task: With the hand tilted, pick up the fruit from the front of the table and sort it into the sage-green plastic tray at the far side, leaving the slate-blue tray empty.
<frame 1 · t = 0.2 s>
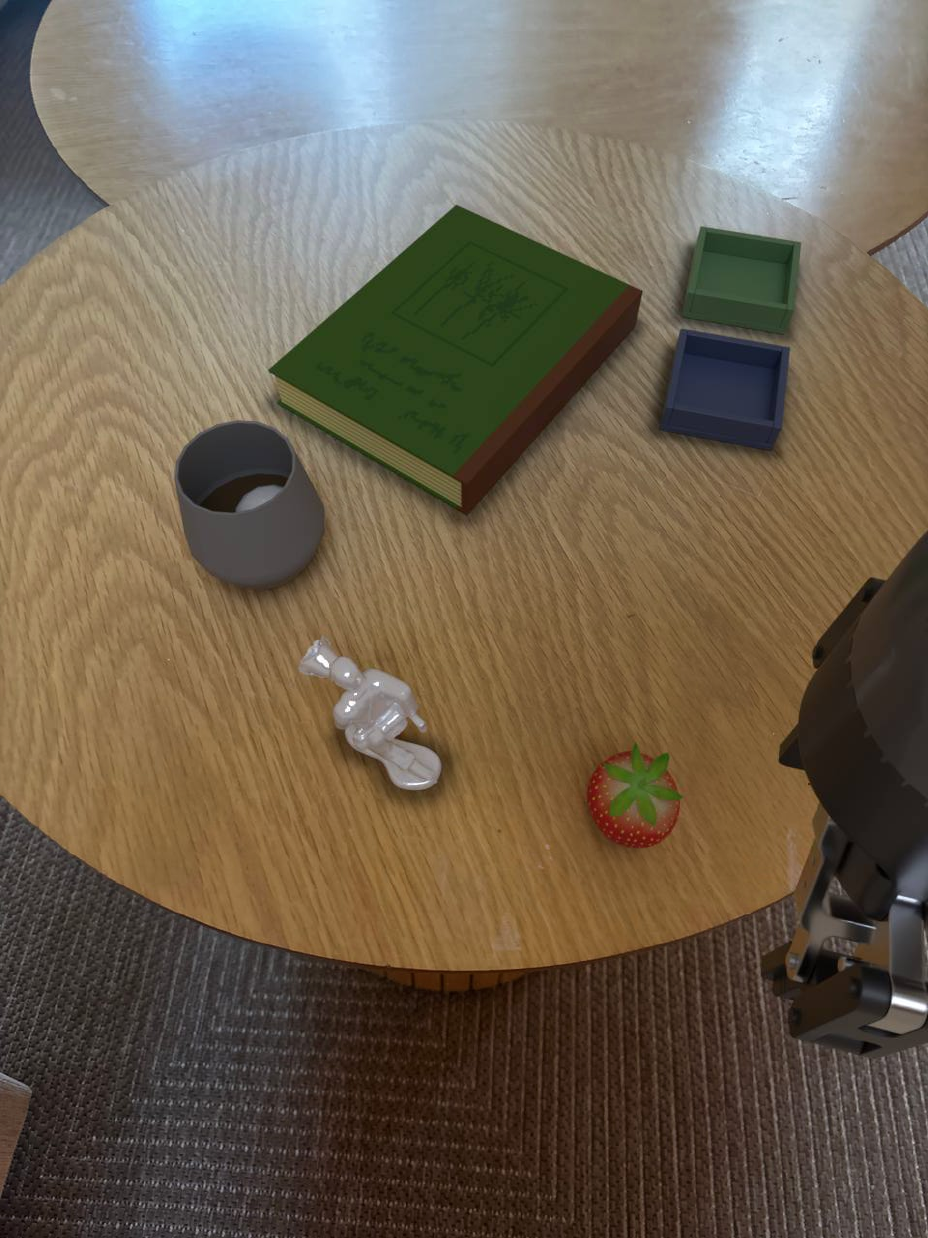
hand: (796, 862, 35), 18 cm above the table, tool pointing down, fingers open, 8 cm apart
cup: (267, 556, 64), on the table
fruit: (621, 822, 54), on the table
hardcover book: (464, 363, 73), on the table
figurine: (377, 746, 57), on the table
blue tray: (721, 399, 71), on the table
green tray: (737, 291, 77), on the table
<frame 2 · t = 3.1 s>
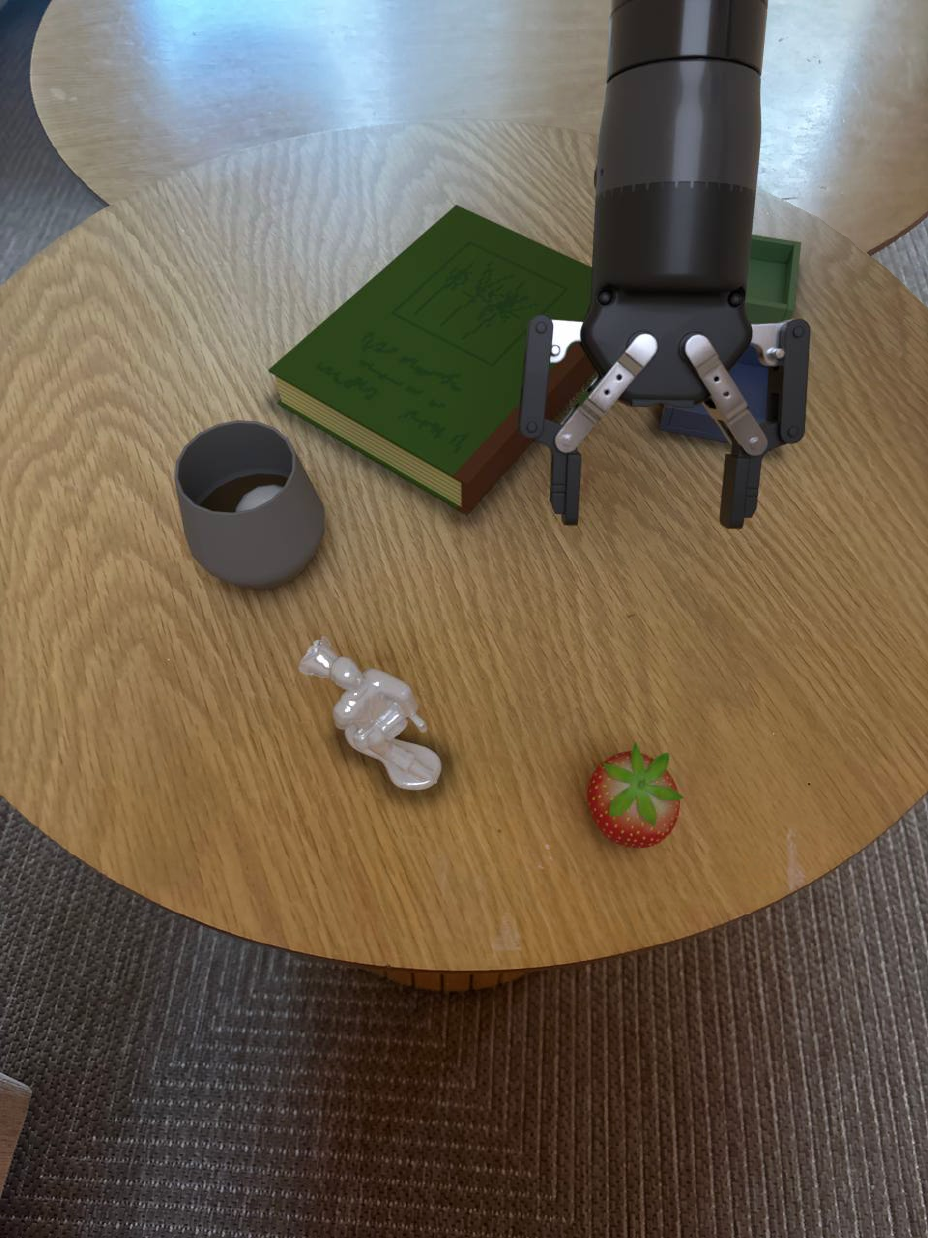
hand: (650, 525, 47), 15 cm above the table, tool tilted 45°, fingers open, 8 cm apart
nothing on the table moved.
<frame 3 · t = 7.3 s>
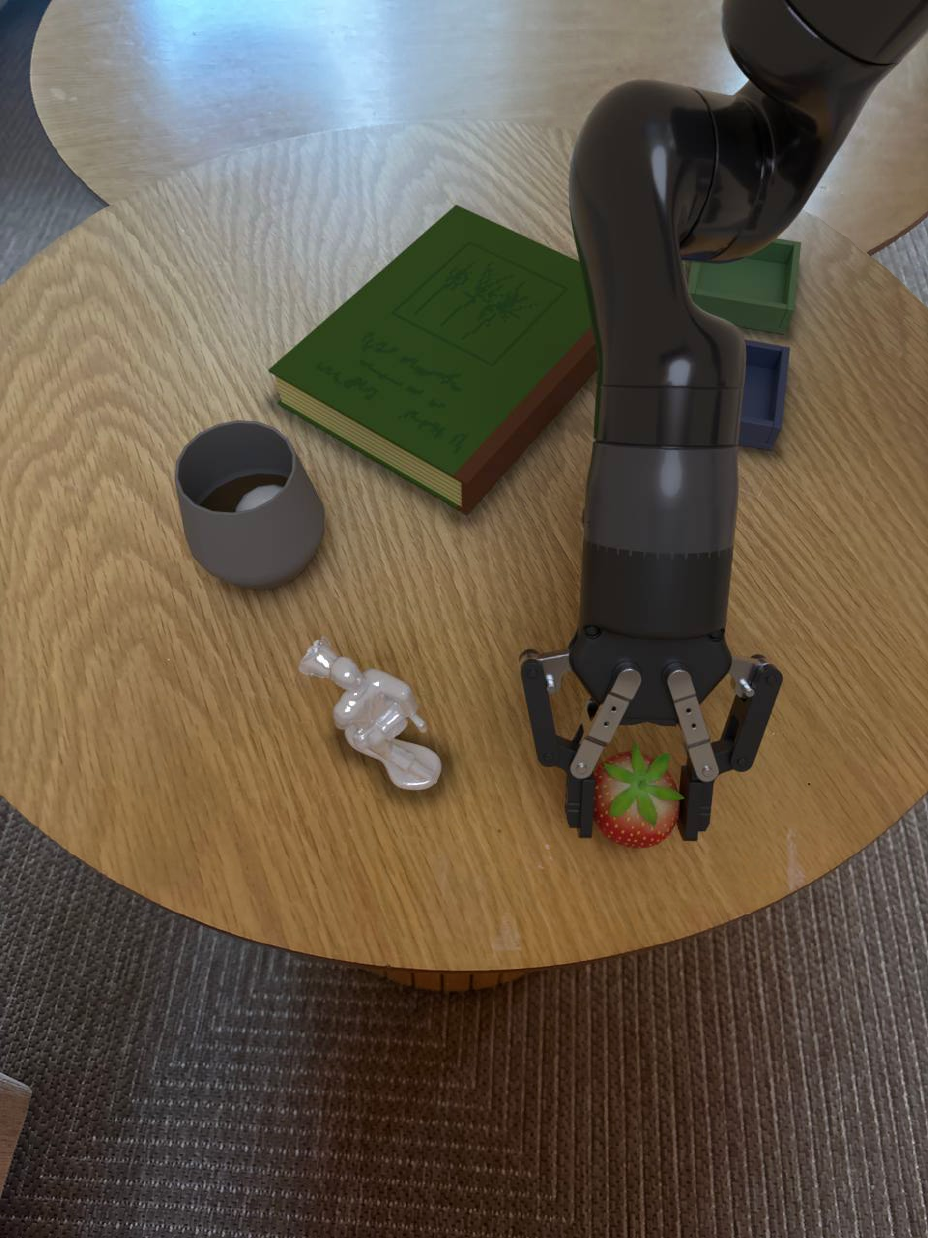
hand: (635, 831, 49), 4 cm above the table, tool tilted 45°, fingers closed on fruit, 5 cm apart
fruit: (621, 822, 54), on the table, touching gripper
everything else where it was.
when the fingers open (5 cm above the table, at t = 23.3 s): fruit stays where it is, resting on green tray.
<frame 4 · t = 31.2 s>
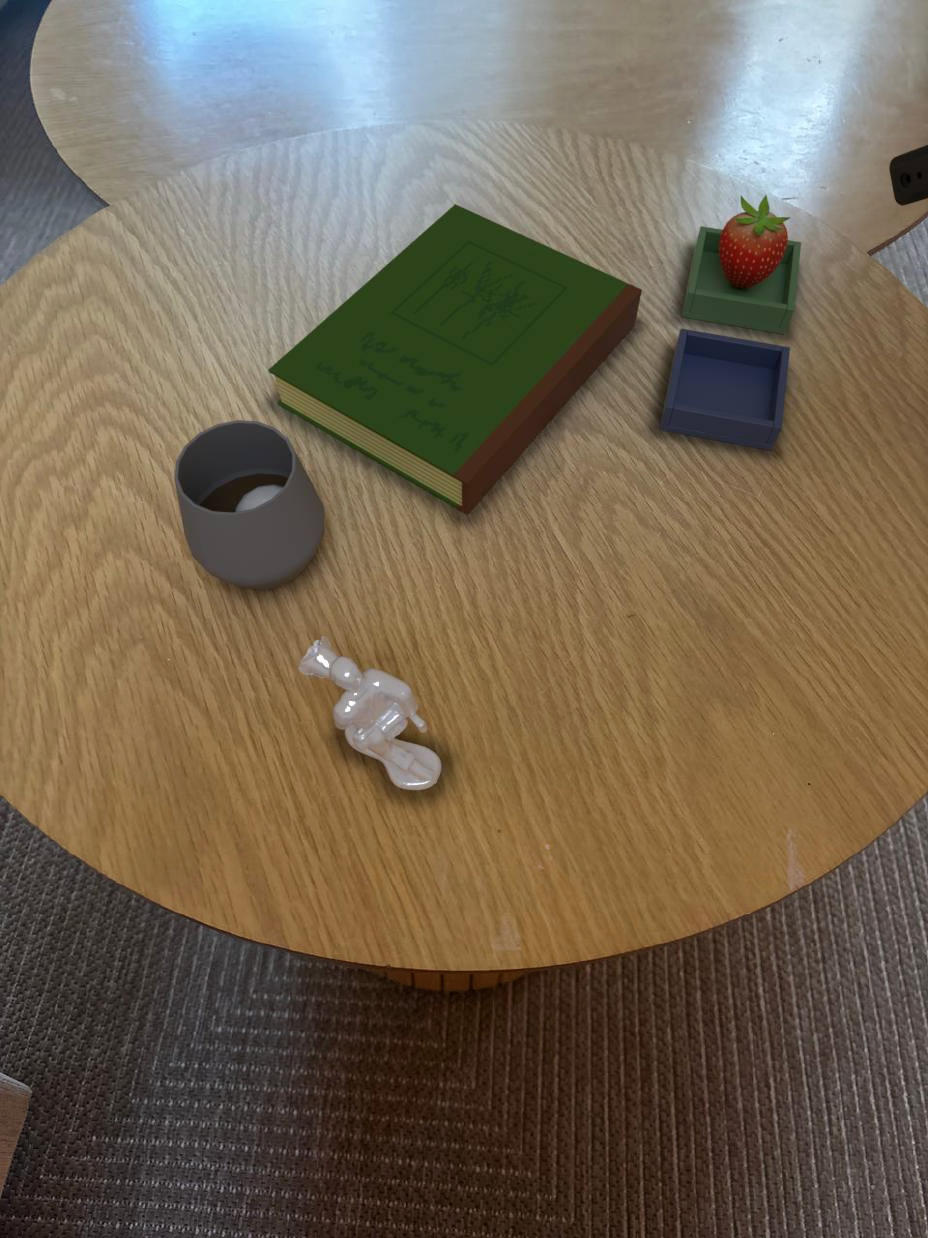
fruit: (737, 288, 77), resting on green tray
everything else where it was.
at the end: fruit inside the target area in the green tray (0.1 cm from its centre), point 0.4 cm above the green tray's base; fruit touching green tray; the gripper is holding nothing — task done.
